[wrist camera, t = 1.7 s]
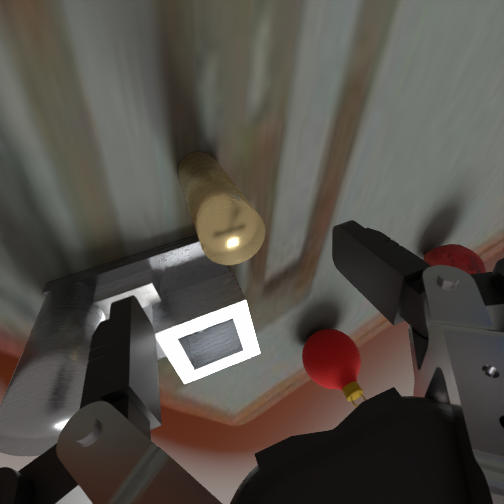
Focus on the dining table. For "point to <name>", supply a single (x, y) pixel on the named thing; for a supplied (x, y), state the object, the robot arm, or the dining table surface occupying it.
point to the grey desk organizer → (98, 309)
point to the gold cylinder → (219, 211)
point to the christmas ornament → (333, 362)
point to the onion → (455, 258)
